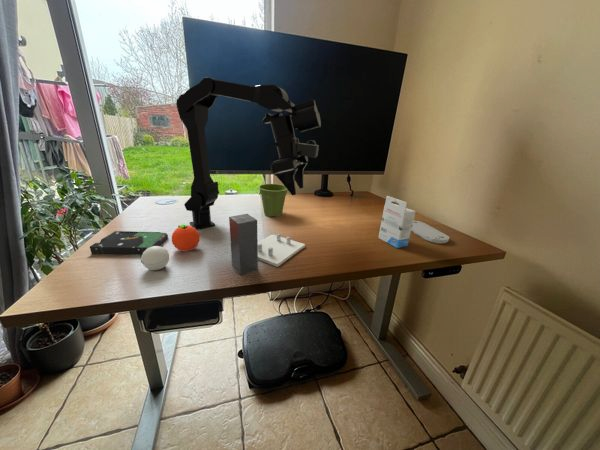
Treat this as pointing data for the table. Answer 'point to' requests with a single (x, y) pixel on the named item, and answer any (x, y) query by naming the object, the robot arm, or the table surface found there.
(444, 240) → the game console
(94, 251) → the disk drive
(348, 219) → the table surface
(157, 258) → the white egg
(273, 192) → the plant pot
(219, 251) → the table surface
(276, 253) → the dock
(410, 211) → the ink box
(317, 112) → the robot arm
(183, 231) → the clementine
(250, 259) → the grey metal block
